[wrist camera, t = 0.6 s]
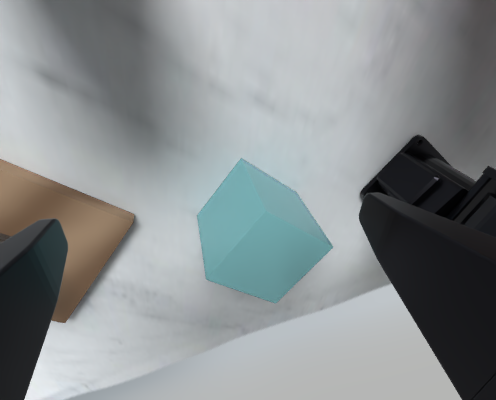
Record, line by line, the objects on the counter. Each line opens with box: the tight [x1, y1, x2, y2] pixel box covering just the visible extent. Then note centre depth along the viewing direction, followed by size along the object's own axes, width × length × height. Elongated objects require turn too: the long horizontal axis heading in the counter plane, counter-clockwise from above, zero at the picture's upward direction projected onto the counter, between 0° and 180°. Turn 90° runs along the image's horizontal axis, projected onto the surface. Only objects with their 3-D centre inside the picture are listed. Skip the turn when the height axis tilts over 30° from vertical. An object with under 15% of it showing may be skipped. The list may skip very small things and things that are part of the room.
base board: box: [0, 159, 134, 323], centre depth 21 cm, size 12×12×1 cm
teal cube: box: [197, 158, 333, 303], centre depth 21 cm, size 6×6×7 cm
